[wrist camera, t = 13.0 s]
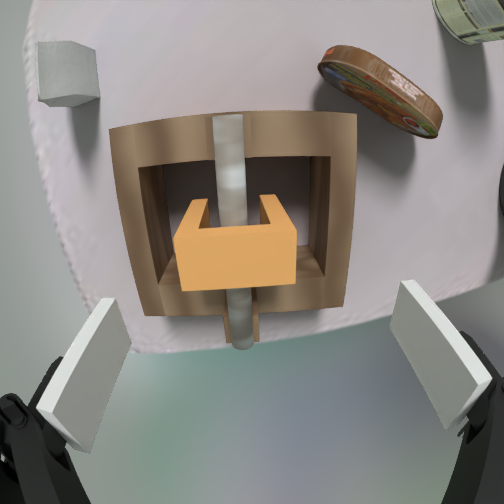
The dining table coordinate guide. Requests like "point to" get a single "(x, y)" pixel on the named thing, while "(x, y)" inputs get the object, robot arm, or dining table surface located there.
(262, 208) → the orange u-shaped bracket
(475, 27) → the coffee can
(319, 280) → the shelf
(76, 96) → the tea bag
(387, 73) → the tin
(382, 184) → the dining table surface
